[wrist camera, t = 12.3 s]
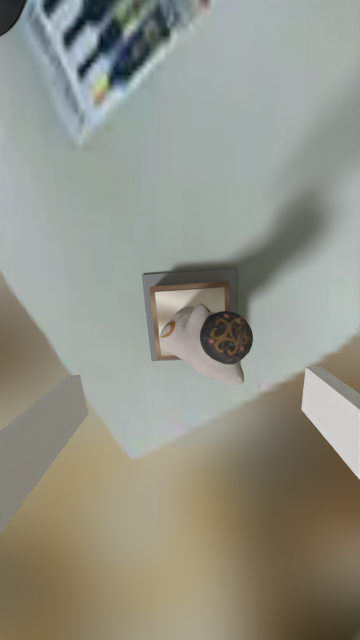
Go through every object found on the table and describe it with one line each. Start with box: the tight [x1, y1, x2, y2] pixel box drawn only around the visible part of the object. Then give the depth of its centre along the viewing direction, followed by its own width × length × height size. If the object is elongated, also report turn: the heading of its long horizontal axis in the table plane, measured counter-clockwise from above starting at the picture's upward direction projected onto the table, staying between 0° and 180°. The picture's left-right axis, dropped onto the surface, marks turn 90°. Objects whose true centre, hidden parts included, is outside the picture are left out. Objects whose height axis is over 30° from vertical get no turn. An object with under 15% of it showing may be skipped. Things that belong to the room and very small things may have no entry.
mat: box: [142, 268, 237, 361], centre depth 33 cm, size 16×16×1 cm
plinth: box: [150, 281, 230, 360], centre depth 30 cm, size 12×12×4 cm
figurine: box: [160, 303, 253, 385], centre depth 21 cm, size 9×10×15 cm
